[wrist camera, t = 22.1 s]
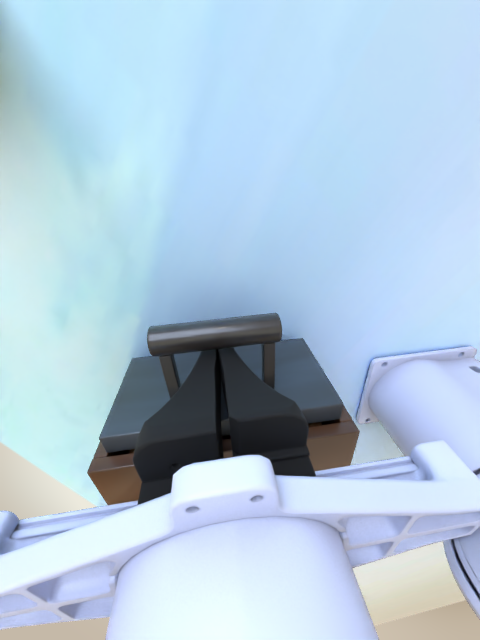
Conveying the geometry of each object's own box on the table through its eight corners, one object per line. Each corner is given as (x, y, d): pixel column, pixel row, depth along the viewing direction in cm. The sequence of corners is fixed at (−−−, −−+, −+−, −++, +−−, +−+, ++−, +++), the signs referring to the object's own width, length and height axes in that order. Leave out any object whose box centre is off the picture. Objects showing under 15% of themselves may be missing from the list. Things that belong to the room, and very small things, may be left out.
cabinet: (130, 364, 18) (86, 473, 11) (305, 343, 19) (360, 431, 13) (167, 467, 25) (152, 575, 18) (296, 447, 26) (328, 542, 19)
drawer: (110, 295, 15) (55, 360, 9) (308, 276, 16) (361, 325, 10) (167, 462, 23) (156, 547, 18) (294, 443, 24) (319, 518, 19)
